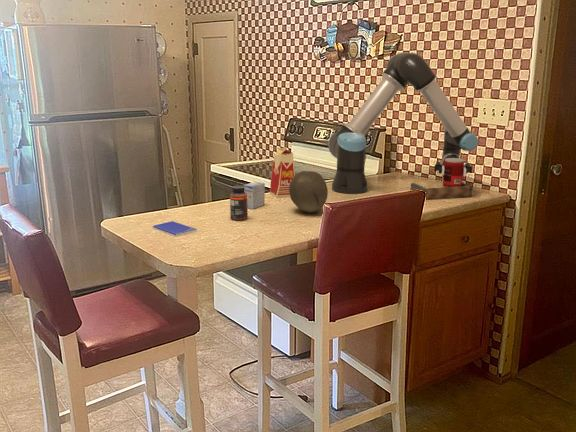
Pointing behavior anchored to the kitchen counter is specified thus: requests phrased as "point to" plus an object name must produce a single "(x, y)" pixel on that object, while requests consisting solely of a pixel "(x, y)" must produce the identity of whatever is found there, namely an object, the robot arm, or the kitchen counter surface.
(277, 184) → the milk carton
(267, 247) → the kitchen counter surface
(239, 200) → the supplement bottle
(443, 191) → the rail board
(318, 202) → the dark grey round ball
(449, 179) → the canned food
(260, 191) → the medicine box
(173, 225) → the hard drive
